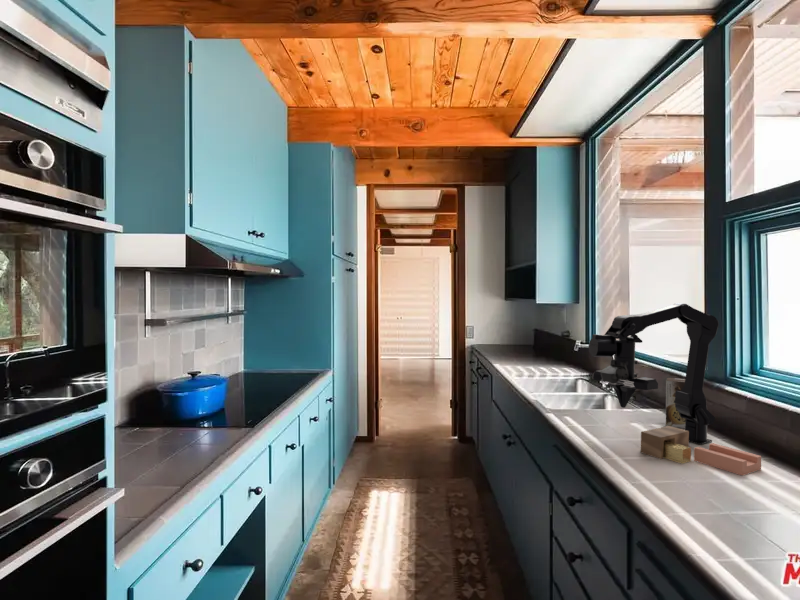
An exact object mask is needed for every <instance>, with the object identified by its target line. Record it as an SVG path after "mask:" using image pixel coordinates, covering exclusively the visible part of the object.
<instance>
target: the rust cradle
mask: <svg viewBox="0 0 800 600" xmlns="http://www.w3.org/2000/svg"><path fill="white" fill-rule="evenodd" d="M693 449H694V451H693V461H695V462H697V461H698V463H701V464H704V465H707V466H710V467H713V468H717V469H719V470H720V469H721V470H723V471H726V472H729V473H733V474H736V475H739V476H745V475H748V473H749V474H752V473H754V471H755V472H758V471H761V470H760V469H762V455H758V454H754V453H752V452H747V451H744V450H741V449H737V448H733V447H729V446H726V445H723V444H718V443H715V442H714V443H713V442H710V443H708V449H707V448H704V447H701V446H697V447H693ZM757 470H758V471H757ZM751 472H752V473H751Z"/></svg>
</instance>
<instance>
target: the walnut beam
mask: <svg viewBox="0 0 800 600" xmlns="http://www.w3.org/2000/svg"><path fill="white" fill-rule="evenodd" d="M664 440H666V441H669V442H673V443H676V444H680V445H684V446H687V447H689V446H690V445H689V442H690V441H689V431H686V430H685V429H684V428H678V427H671V426H663V427H662V426H661V427H657V428H653V429H647V430H643V431H641V432H640V453H642V454H644V455H648V456H651V457H653V458H657V459H660V460H663V459H664V458H663V447H664Z"/></svg>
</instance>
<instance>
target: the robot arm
mask: <svg viewBox="0 0 800 600" xmlns="http://www.w3.org/2000/svg"><path fill="white" fill-rule="evenodd" d="M675 319H678V320H679V321H680V322H681V323H683V324H684V325H685V326H686V333H687V336H688V339H689V342H690V343H689V350H688V358H687V364H686V372H685V378H684V379H685V385H684V387H683V389H682V390H681V391H676V392H675V400H674V403H675V407H676V409H677V410H678V412H679V414H680V417H681V418H684V419H686V421H685V428H684V430H686V431H689V442H690V443H694V444H698V445H704V444H710V443H713V440H712V439H709V438H708V426H709V425H710V426H711V425H714V423H715V421H716V417H715V416H714V415H713V414H712V413H711V412H710V410H708V406H707V405H708V404H707V401H708V400H707V398H706V395H705V392H704V390H703V389H704V381H705V376H706V367H707V359H708V353H709V346H710V343H711V342H712V341H713V340H714V338H715V337H716V335H717V333H718V329H719V320H718V319H717V318H716V316H714V315H713V314H707V313H705V312H704V311H701V310H698V309H696V308H694V307H692V306H690V305H689V304H687V303H680V302H679V303H674V304H672V305H671V304H670V305H668V306H665V307H661V308H657V309H654V310H650V311H647V312H643V313H639V314H626V315H618V316H615V317H614V318H613V320H612V323H611V325H610V326H609V328H608V329H607V331H606V332H605V333H604V334H598V333H597V334H595V333H594V334H592V338H591V339H590V340H589V343H588V352H589V355H590V356H591V357H593V358H594V357H596V358H598V357H599V358H602V357H603V358H605V357H606V358H612V357H613V356H614V357H613V359H610V365H607V366H606V367H605V368H603V369H602V370H601V369H599V370H594V372H593V373H592V380H594V381H598V382H601V381H602V383H607V385H608V386H610V387H611V388H612V389H613V390H614V391H615V394H616V398H617V399H618V402H619V406H620V407H621V408H623V409H624V408H626V407H627V405H628V403H629V402H630V399H631V398H632V397H633V394H634V393H635V392H636V390H642V391H651V390H658V389H659V382H658V381H657V379H656V378H651V377H638V373H635V369H636V368H635V366H636V365H638V360H636V359H635V358H636V343H637V344H638V343H639V344H640V343H641V344H642V343H643V340H642V338H640V337H639V336H638V334H639V333H641V332H643V331H644V330H645V329H646V328H648V327H650V326H651V327H652V326H654V325H657V324H661V323H664V322H668V321H672V320H675Z"/></svg>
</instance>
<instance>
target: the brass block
mask: <svg viewBox="0 0 800 600" xmlns="http://www.w3.org/2000/svg"><path fill="white" fill-rule="evenodd" d="M691 458H692V447H691V446H690V447H687V446H684V445H680V444H676V443H673V442H669V441H666V440H664V447H663V458H662V459H667V460H670V461H673V462H676V463H679V464H682V465H683V464H685V463H689V462H691V461H692V459H691Z"/></svg>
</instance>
